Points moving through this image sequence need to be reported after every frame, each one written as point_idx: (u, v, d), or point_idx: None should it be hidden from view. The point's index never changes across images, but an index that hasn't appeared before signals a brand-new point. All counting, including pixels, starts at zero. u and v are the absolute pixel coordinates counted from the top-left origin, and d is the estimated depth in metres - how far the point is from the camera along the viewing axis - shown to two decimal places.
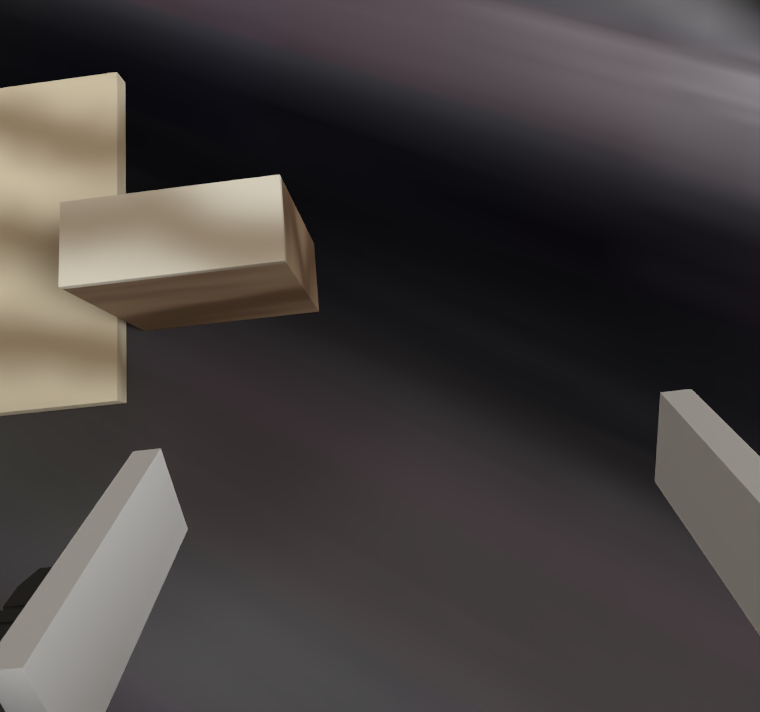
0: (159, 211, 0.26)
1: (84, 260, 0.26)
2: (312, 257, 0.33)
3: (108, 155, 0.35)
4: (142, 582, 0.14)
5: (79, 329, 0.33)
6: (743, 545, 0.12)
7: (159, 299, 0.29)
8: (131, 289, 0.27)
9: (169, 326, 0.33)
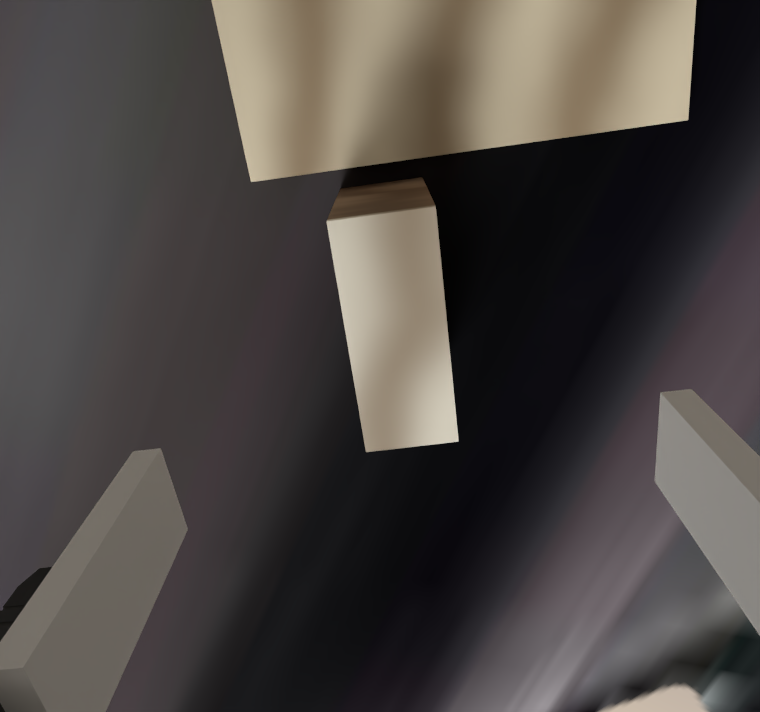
0: (420, 327, 0.23)
1: (360, 248, 0.22)
2: None
3: (564, 125, 0.27)
4: (142, 582, 0.14)
5: (331, 120, 0.27)
6: (743, 545, 0.12)
7: None
8: None
9: None
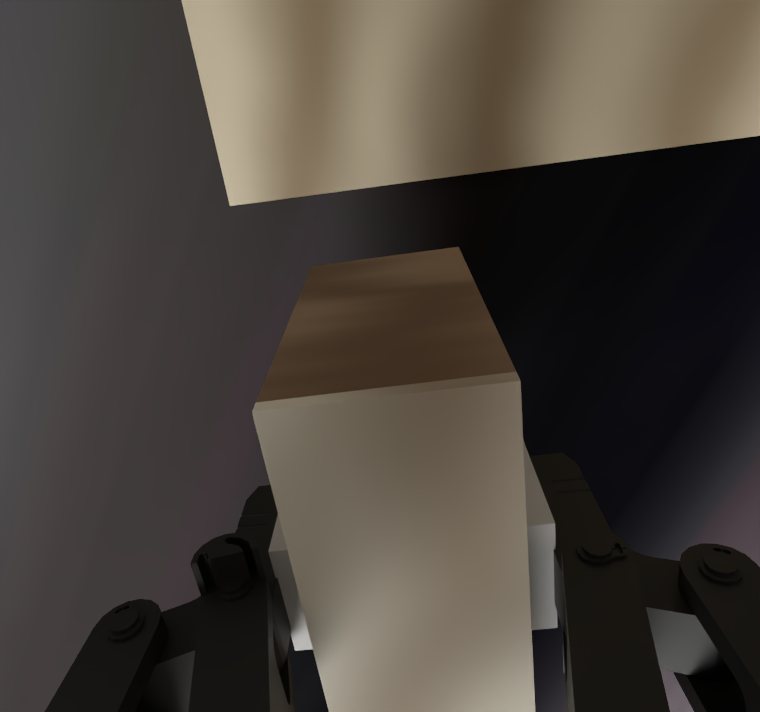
0: (471, 615, 0.11)
1: (334, 467, 0.09)
2: None
3: (670, 130, 0.19)
4: None
5: (340, 121, 0.19)
6: None
7: None
8: None
9: None
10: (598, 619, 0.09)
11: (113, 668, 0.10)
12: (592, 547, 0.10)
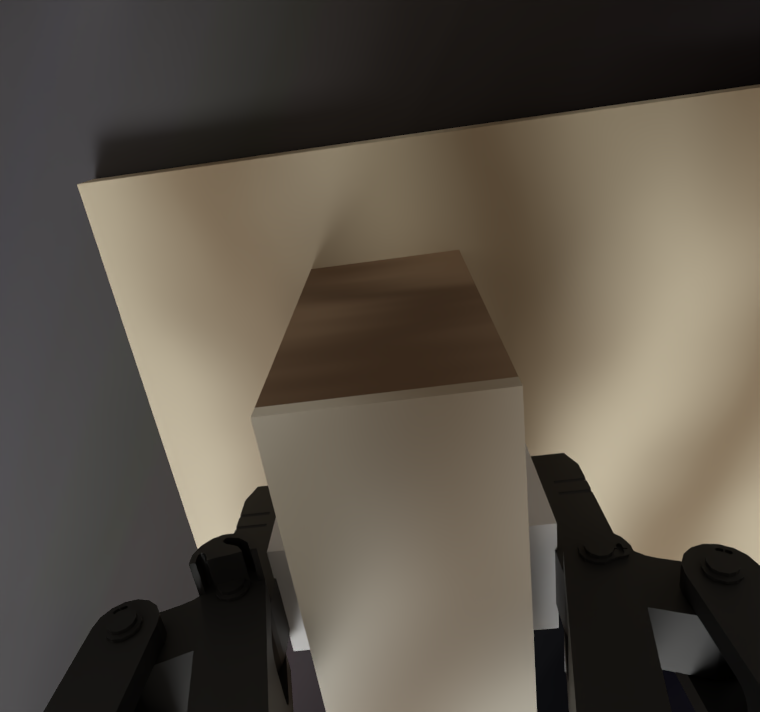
0: (472, 623, 0.10)
1: (334, 473, 0.09)
2: None
3: None
4: None
5: None
6: None
7: None
8: None
9: None
10: (600, 619, 0.09)
11: (111, 669, 0.10)
12: (594, 547, 0.10)
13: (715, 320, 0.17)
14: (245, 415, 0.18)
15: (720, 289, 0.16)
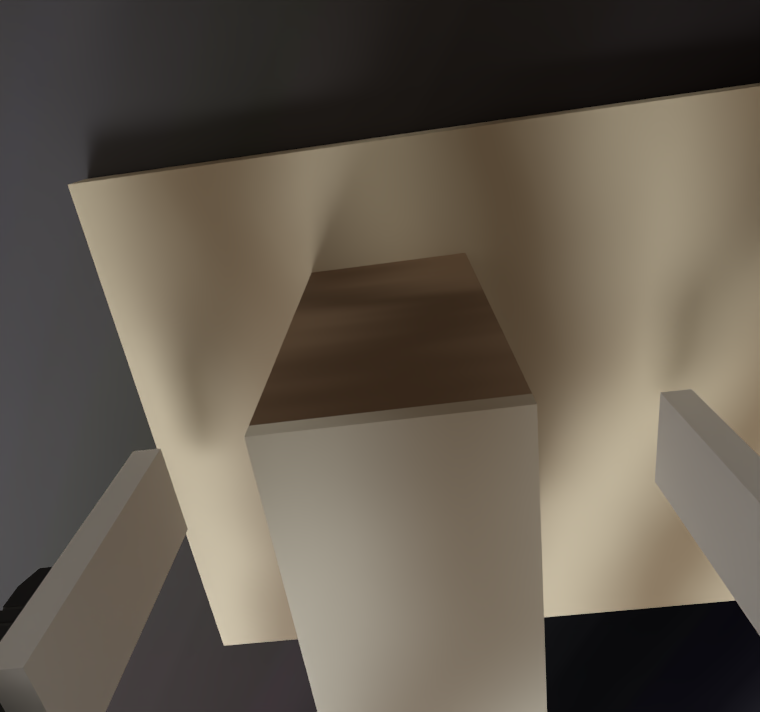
0: (481, 652, 0.10)
1: (334, 496, 0.09)
2: None
3: (642, 597, 0.20)
4: (142, 582, 0.14)
5: None
6: (743, 545, 0.12)
7: None
8: None
9: None
10: None
11: None
12: None
13: (731, 326, 0.16)
14: (243, 423, 0.17)
15: (737, 294, 0.16)
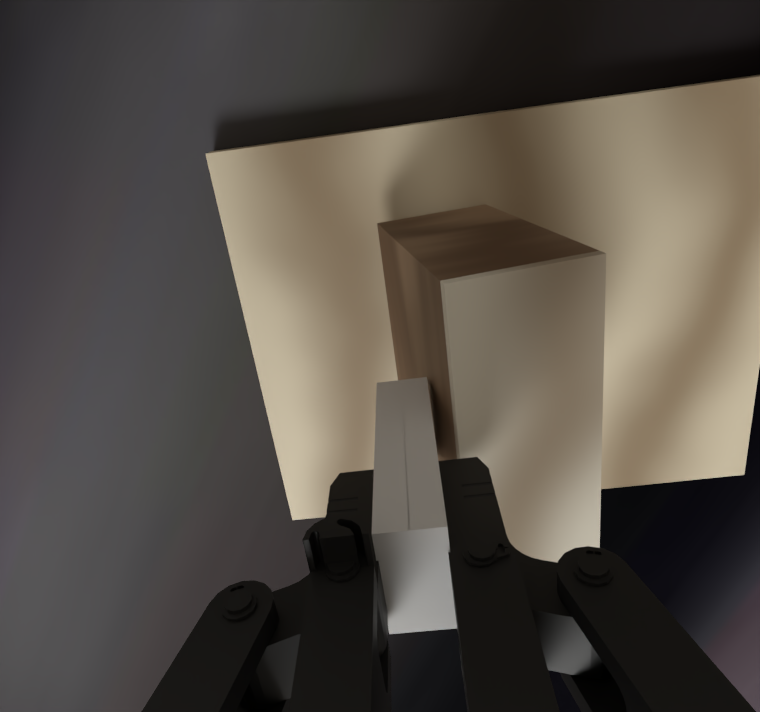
0: (566, 428, 0.16)
1: (491, 321, 0.14)
2: None
3: (616, 477, 0.26)
4: None
5: None
6: None
7: (422, 356, 0.18)
8: (438, 366, 0.16)
9: (385, 272, 0.21)
10: (487, 621, 0.10)
11: (225, 648, 0.10)
12: (477, 550, 0.11)
13: (677, 259, 0.22)
14: (319, 334, 0.23)
15: (680, 235, 0.22)
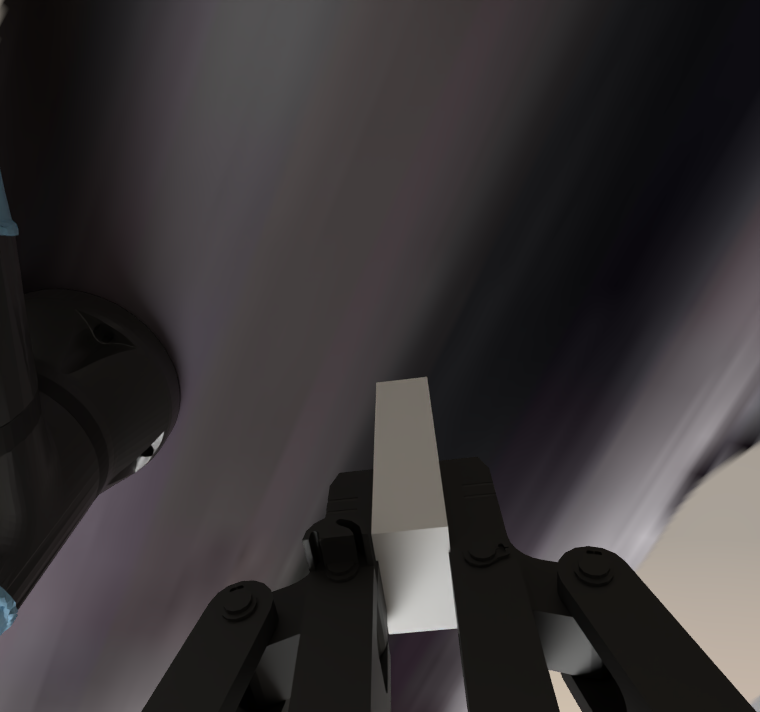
0: None
1: None
2: None
3: None
4: None
5: None
6: None
7: None
8: None
9: None
10: (487, 621, 0.10)
11: (225, 648, 0.10)
12: (477, 550, 0.11)
13: None
14: None
15: None
